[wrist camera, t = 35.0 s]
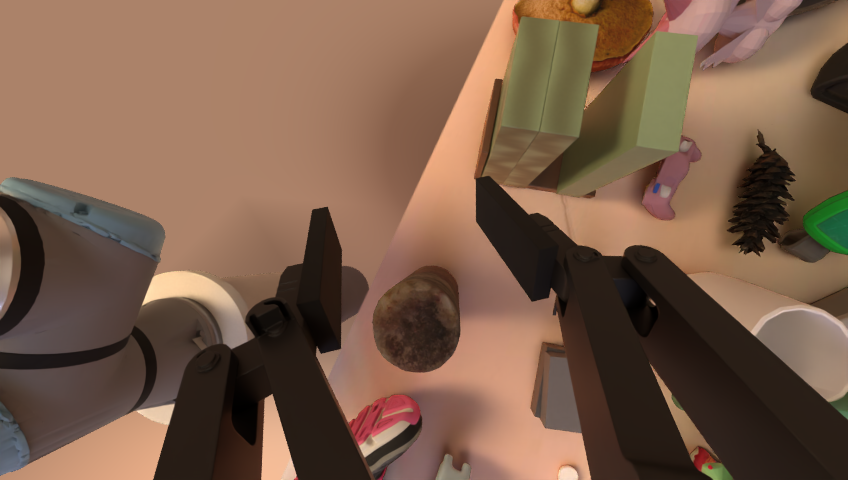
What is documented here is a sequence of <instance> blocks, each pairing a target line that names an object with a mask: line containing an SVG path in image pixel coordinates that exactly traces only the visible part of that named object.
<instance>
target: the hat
mask: <svg viewBox="0 0 848 480" xmlns="http://www.w3.org/2000/svg"><path fill="white" fill-rule="evenodd" d="M834 1H837V0H803V1H802V2H801V4H800V5H799V6H798V7H797V8H795V9H794V10H793V11H792V12H791V13H789V14H788V15H787V16H791V15H795V14H799V13H802V12H805V11H809V10H812V9H816V8H818V7H821V6H824V5H826V4H829V3H832V2H834ZM745 2H746V0H739V2H738V4H737V5H736V6H738V5H741V4H743V3H745Z"/></svg>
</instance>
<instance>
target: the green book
mask: <svg viewBox="0 0 848 480" xmlns="http://www.w3.org/2000/svg"><path fill="white" fill-rule="evenodd" d="M697 40H698V36H697V35H688V34H679V33H670V32H661V31H656V32H655V33H654V34H653V35H652V36H651V38H650V39H649V40H648V41H647V42H646V43H645V44H644V45H643V46H642V48H641V49H640V50H639V51H638V52H637V53H636V54H635V55H634V56H633V57H632V59H631V60H630V61H629V62H628V63H627V64H626V65H625V66H624V67H623V68H622V70H621V71H620V72H619V73H618V74H617V75H616V76H615V77H614V78H613V80H612V81H611V82H610V83H609V84H608V85H607V86H606V87H605V88H604V89H603V91H602V92H601V93H600V94H599V95H598V96H597V97H596V98H595V99H594V101H593V102H592V103H591V104H590V105H589V106H588V107H587V108H586V109H585V110H584V113H583V118H582V124H581V129H580V135H579V137H578V138H577V139H576V140H575V141H574V142H573V143H572V144H571V145H570V146H569V147H568V148H567V149H566V150H565V151H564V154H563V159H562V165H561V170H560V176H559V181H558V187H557V192H556V194H562V195H567V196H573V197H581V196H583V195H586V194H588V193H590V192H592V191H594V190H596V189H599V188H601V187H603V186H605V185H607V184H609V183H612V182H614V181H616V180H618V179H620V178H623V177H625V176H627V175H629V174H631V173H633V172H636V171H638V170H640V169H642V168H644V167H647V166H649V165H651V164H653V163H655V162H657V161H660V160H662V159H664V158H666V157H668V156H671V155H673V154H675V153H677V152H678V151H679V145H680V139H681V133H682V128H683V122H684V116H685V110H686V104H687V98H688V93H689V87H690V81H691V75H692V69H693V63H694V58H695V52H696V46H697Z"/></svg>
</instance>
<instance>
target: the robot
mask: <svg viewBox="0 0 848 480" xmlns="http://www.w3.org/2000/svg"><path fill="white" fill-rule="evenodd" d="M811 95H812V97H813V98H815V99H817V100H820V101H822V102H824V103H826V104H829V105H831V106H833V107H835V108H838V109H840V110H842V111H844V112H846V113H848V43H847V44H845V45H844V46H843V47H842V48H840V49H839V50H838V51H837V52H835V53H834V54H833V55H832V56H831V57H830V58H829V60H828V61H827V62H826V63H825V64H824V65H823V67H822V68H821V69H820V71H819V74H818V76H817V78H816V80H815V82H814V84H813V86H812V88H811ZM803 227H804V228H803V229H797V230H791V231H788V232H786V233H785V234H784V235H783V236H782V237H781V238H780V240H779V243H780V244H781V245H782V246H781V248H783V249H784V250H786V251H788V252H789V253H791V254H793V255H794V256H796V257H798V258H799V259H801V260H803V261H805V262H816V261H818V260H820V259H822V258H823V257H824V256H825V255H826V254H827V253H828V252H830V251H832V252H835V253H841V254H846V255H848V190H847V191H845V192H843V193H840V194H838V195H835V196H833V197H831V198H829V199H827V200H825V201H824V202H822V203H821V204H819V205H818V206H816V207H814V208H813V209H811V210H810V211H808V212H807V213H806V214H805V215H804V216H803Z"/></svg>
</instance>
